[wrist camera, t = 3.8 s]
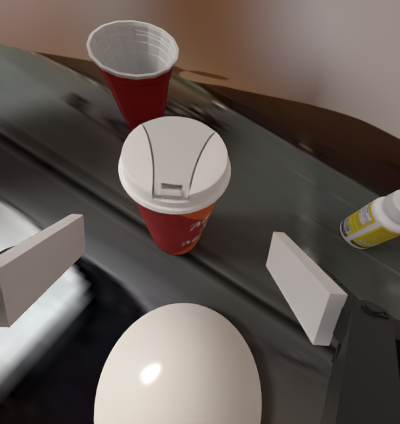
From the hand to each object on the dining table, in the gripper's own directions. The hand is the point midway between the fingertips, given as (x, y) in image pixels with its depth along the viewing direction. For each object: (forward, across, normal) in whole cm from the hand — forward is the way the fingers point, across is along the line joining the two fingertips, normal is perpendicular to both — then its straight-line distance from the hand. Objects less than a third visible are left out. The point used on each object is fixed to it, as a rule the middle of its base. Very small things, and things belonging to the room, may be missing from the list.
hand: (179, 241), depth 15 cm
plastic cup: (+26, -8, +9) cm, 28 cm away
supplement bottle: (+14, +24, -3) cm, 28 cm away
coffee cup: (+12, -1, -5) cm, 13 cm away
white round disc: (+1, +1, -16) cm, 16 cm away
